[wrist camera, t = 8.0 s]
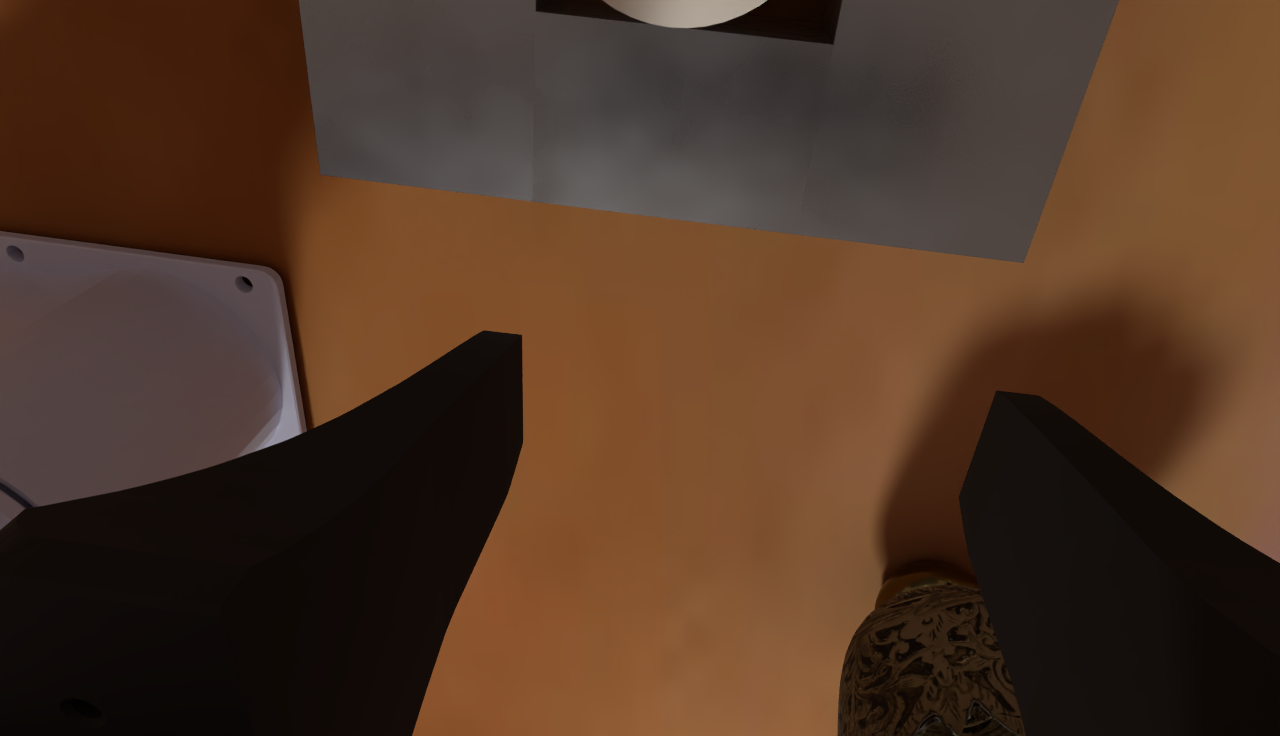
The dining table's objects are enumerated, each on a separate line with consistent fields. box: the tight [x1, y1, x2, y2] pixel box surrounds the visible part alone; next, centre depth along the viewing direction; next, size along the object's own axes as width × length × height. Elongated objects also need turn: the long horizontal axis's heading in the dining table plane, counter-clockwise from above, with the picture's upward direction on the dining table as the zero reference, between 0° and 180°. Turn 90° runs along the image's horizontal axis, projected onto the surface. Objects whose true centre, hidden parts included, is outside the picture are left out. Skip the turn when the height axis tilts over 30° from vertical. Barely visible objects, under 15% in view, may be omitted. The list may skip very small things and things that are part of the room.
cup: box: [838, 561, 1026, 736], centre depth 23 cm, size 8×7×8 cm
